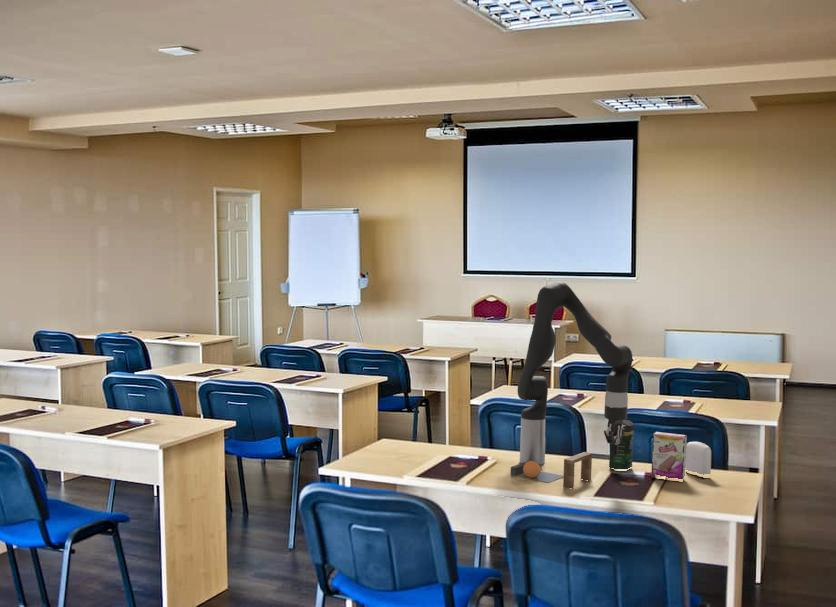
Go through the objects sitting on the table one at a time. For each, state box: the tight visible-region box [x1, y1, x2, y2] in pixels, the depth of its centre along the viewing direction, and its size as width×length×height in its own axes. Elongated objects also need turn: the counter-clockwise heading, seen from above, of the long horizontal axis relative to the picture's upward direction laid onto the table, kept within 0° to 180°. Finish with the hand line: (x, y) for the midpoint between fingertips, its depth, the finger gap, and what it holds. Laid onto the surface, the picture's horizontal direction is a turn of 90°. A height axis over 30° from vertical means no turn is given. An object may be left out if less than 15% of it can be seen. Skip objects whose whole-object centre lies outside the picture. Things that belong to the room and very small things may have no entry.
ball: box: [523, 461, 541, 478], centre depth 306 cm, size 6×6×6 cm
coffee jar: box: [608, 419, 635, 469], centre depth 321 cm, size 10×8×19 cm
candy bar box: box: [651, 431, 688, 479], centre depth 308 cm, size 11×5×16 cm, turn 65°
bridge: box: [562, 451, 593, 489], centre depth 299 cm, size 3×15×10 cm, turn 142°
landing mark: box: [518, 470, 564, 484], centre depth 308 cm, size 12×12×1 cm
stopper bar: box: [509, 461, 529, 477], centre depth 313 cm, size 12×2×3 cm, turn 142°
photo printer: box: [685, 441, 712, 475], centre depth 315 cm, size 10×4×12 cm, turn 26°
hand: (614, 455), depth 291 cm, fingers closed
